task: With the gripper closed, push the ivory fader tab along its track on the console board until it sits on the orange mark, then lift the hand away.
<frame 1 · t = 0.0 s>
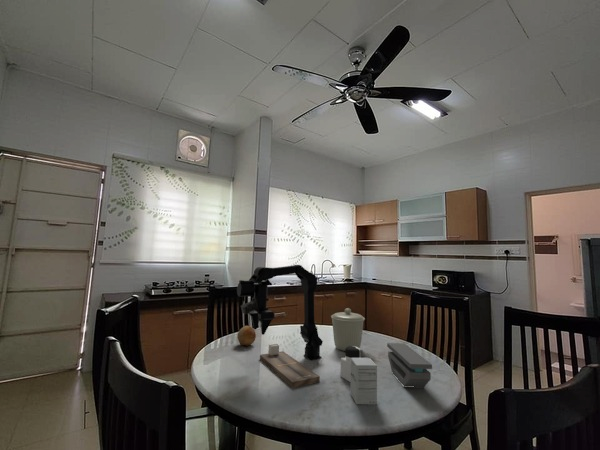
hand: (258, 331, 124), 15 cm above the table, tool pointing down, fingers open, 9 cm apart
onion: (246, 345, 151), on the table
supplement box: (363, 400, 97), on the table
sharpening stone: (407, 381, 113), on the table
fader tab: (273, 349, 133), point 4 cm above the table, slide at 0.0 cm
medicine bottle: (352, 378, 114), on the table
canister: (347, 349, 150), on the table
console board: (287, 369, 120), on the table
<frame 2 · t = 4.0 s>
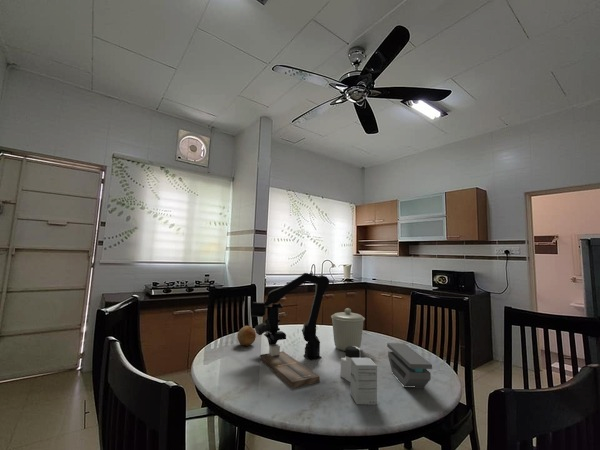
hand: (271, 350, 135), 3 cm above the table, tool pointing down, fingers closed
fader tab: (274, 349, 132), point 4 cm above the table, slide at 0.9 cm, touching gripper
everything else where it was.
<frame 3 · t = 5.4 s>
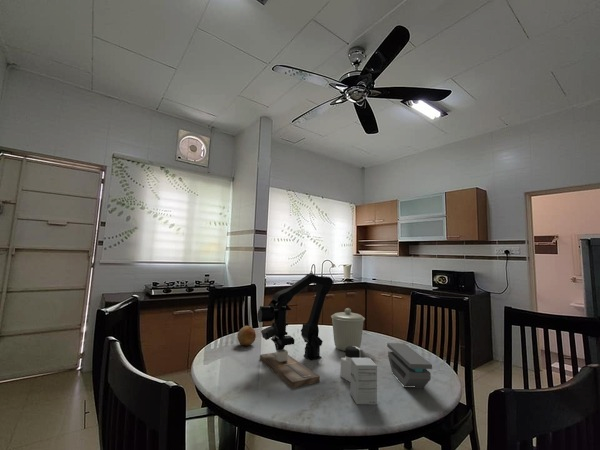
hand: (278, 355, 128), 3 cm above the table, tool pointing down, fingers closed
fader tab: (282, 355, 125), point 4 cm above the table, slide at 9.0 cm, touching gripper
everything else where it was.
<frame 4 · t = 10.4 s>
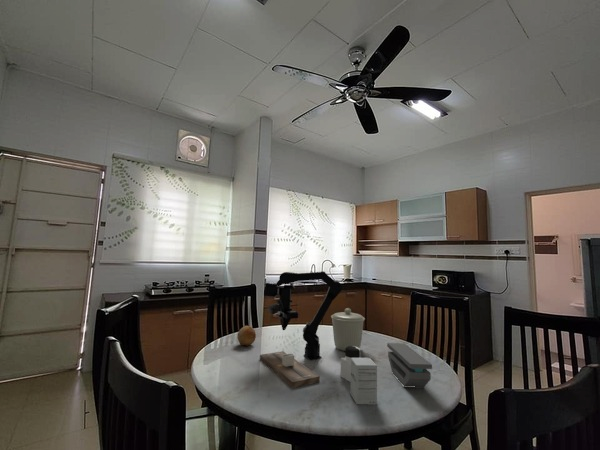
hand: (283, 330, 138), 12 cm above the table, tool pointing down, fingers closed
fader tab: (288, 359, 120), point 4 cm above the table, slide at 14.9 cm
everything else where it was.
at the end: fader tab slide at 14.9 cm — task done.
